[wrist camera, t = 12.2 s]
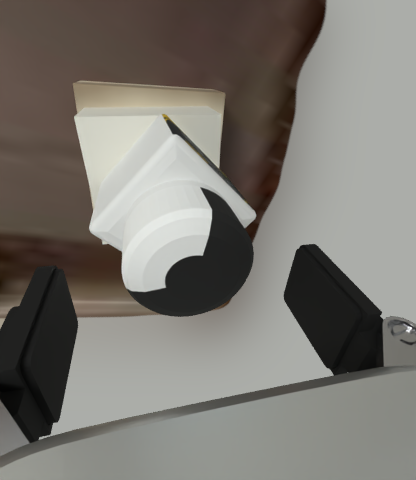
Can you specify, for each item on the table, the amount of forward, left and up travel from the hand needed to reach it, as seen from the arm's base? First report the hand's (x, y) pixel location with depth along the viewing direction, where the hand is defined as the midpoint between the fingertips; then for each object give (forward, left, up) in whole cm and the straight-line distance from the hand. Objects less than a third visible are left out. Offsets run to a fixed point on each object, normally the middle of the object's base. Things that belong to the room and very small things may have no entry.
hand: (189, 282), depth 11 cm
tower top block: (+1, 0, -17) cm, 17 cm away
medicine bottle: (0, 0, -13) cm, 13 cm away
